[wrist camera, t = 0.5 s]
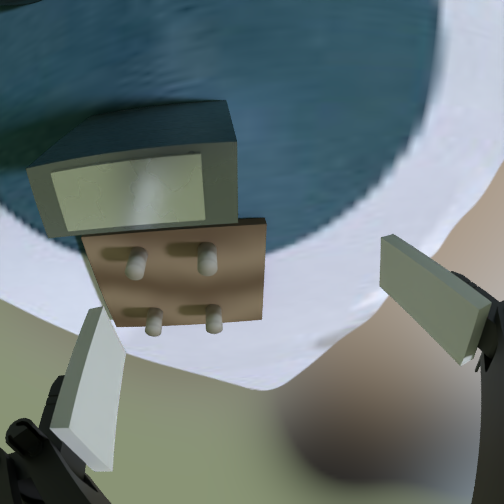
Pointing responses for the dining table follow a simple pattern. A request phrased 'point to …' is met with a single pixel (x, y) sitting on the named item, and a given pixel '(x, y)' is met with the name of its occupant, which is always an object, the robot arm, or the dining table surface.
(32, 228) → the dining table surface
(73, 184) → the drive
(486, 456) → the robot arm
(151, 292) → the pin tray
